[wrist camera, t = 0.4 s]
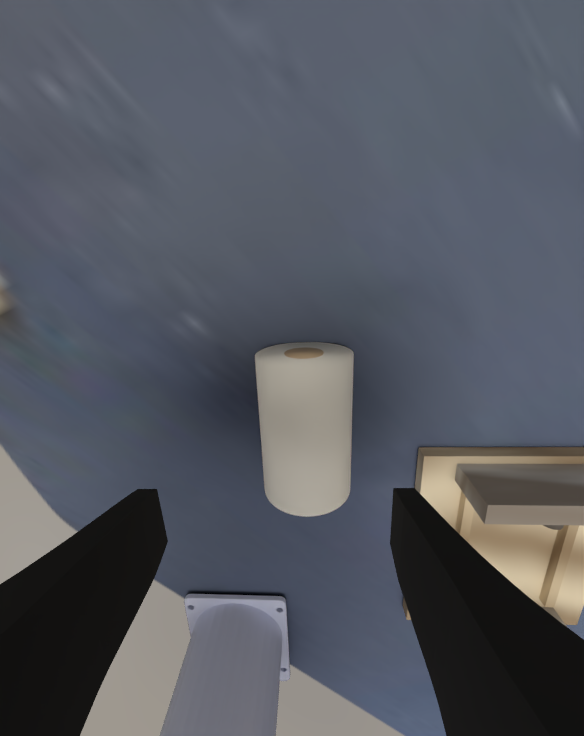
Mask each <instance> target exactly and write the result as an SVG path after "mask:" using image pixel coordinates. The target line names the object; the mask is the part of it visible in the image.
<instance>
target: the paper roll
mask: <svg viewBox="0 0 584 736" xmlns="http://www.w3.org/2000/svg"><path fill="white" fill-rule="evenodd" d="M353 363H354V353H353V351H352V350H351V349H349V348H347V347H344V346H341V345H337V344H331V343H323V342H296V343H285V344H279V345H274V346H270V347H267V348H264V349H262V350H260V351H258V352H257V353H256V354H255V366H256V380H257V393H258V407H259V420H260V434H261V447H262V460H263V474H264V487H265V494H266V496H267V498H268V500H269V501H270V502H271V503H272V504H273V505H274V506H275V507H276V508H278V509H279V510H281V511H283V512H286V513H288V514H292V515H296V516H319V515H323V514H327V513H329V512H332V511H334V510H336V509H337V508H339V507H340V506H341V505H342V504H343V503H344V502H345V501H346V500H347V498H348V496H349V494H350V479H351V441H352V402H353Z"/></svg>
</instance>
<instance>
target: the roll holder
mask: <svg viewBox="0 0 584 736" xmlns="http://www.w3.org/2000/svg"><path fill="white" fill-rule="evenodd" d="M415 489H416V490H417V491H418V492H419V493H420V494H421V495H422V496H423V497H424V498H425V499H426V500H427V501H428V502H429V503H430V505H431V506H432V507H433V508H434V509H435V510H436V511H437V512H438V513H439V514H440V515H441V516H442V517H443V518H444V519H445V520H446V521H447V522H448V523H449V524H450V525H451V526H452V527H453V528H454V529H455V530H456V531H457V532H458V533H459V534H460V535H461V536H462V537H463V538H464V539H465V540H466V541H467V542H468V543H469V544H470V545H471V546H472V547H473V548H474V549H475V550H476V551H477V552H478V553H479V554H480V555H482V556H483V557H484V558H485V559H486V560H487V561H488V562H489V563H490V564H491V565H492V566H494V567H495V568H496V569H497V570H498V571H499V572H500V573H501V574H503V575H504V576H505V577H506V578H507V579H508V580H509V581H510V582H512V583H513V584H514V585H515V586H516V587H517V588H519V589H520V590H521V591H522V592H523V593H525V594H526V595H527V596H528V597H529V598H531V599H532V600H533V601H534V602H536V603H537V604H538V605H539V606H541V607H542V608H543V609H544V610H546V611H547V612H548V613H550V614H551V615H552V616H553V617H555V618H556V619H557V620H558V621H560V622H561V623H562V624H563V625H565V626H566V625H577V623H578V620H579V617H580V614H581V611H582V608H583V606H584V447H419V450H418V460H417V470H416V480H415ZM403 608H404V612H405V616H406V619H407V620H411V617H410V614H409V611H408V608H407V605H406V602H405V599H403ZM566 627H567V626H566Z"/></svg>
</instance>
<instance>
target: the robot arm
mask: <svg viewBox="0 0 584 736" xmlns="http://www.w3.org/2000/svg"><path fill="white" fill-rule="evenodd" d="M167 542H168V540H167V536H166V531H165V526H164V521H163V516H162V511H161V507H160V502H159V497H158V492H157V489H137V490H136V491H134V492H133V493H131V494H130V495H128V496H127V497H125V498H124V499H123V500H121V501H120V502H118V503H117V504H116V505H114V506H113V507H111V508H110V509H109V510H107V511H106V512H105V513H103V514H102V515H101V516H99V517H98V518H96V519H95V520H94V521H92V522H91V523H90V524H88V525H87V526H85V527H84V528H83V529H81V530H80V531H78V532H77V533H76V534H74V535H73V536H72V537H70V538H69V539H67V540H66V541H65V542H63V543H62V544H60V545H59V546H57V547H56V548H54V549H53V550H51V551H50V552H49V553H47V554H46V555H44V556H43V557H41V558H40V559H38V560H37V561H35V562H34V563H32V564H31V565H29V566H28V567H26V568H25V569H23V570H22V571H20V572H19V573H17V574H16V575H14V576H13V577H11V578H10V579H8V580H6V581H5V582H3V583H2V584H0V736H80V734H81V731H82V729H83V727H84V724H85V721H86V719H87V717H88V714H89V712H90V710H91V707H92V705H93V702H94V700H95V697H96V695H97V693H98V691H99V688H100V686H101V684H102V682H103V680H104V678H105V675H106V673H107V671H108V669H109V667H110V665H111V663H112V661H113V659H114V657H115V655H116V653H117V651H118V649H119V647H120V645H121V643H122V641H123V639H124V637H125V635H126V633H127V631H128V629H129V627H130V625H131V624H132V621H133V620H134V617H135V616H136V614H137V612H138V610H139V608H140V606H141V604H142V602H143V599H144V598H145V596H146V594H147V592H148V590H149V588H150V586H151V583H152V581H153V579H154V577H155V575H156V572H157V570H158V567H159V564H160V562H161V559H162V556H163V553H164V551H165V548H166V545H167ZM390 545H391V549H392V554H393V559H394V563H395V568H396V572H397V576H398V581H399V584H400V587H401V590H402V593H403V596H404V599H405V602H406V605H407V608H408V611H409V614H410V617H411V620H412V623H413V626H414V629H415V632H416V635H417V638H418V641H419V644H420V647H421V650H422V653H423V656H424V659H425V662H426V665H427V668H428V671H429V674H430V677H431V681H432V684H433V687H434V691H435V694H436V697H437V701H438V704H439V708H440V712H441V716H442V720H443V724H444V728H445V731H446V735H447V736H584V640H583V639H582V638H581V637H579V636H578V635H577V634H575V633H574V632H573V631H571V630H570V629H569V628H567V627H566V626H565V625H563V624H562V623H561V622H560V621H558V620H557V619H556V618H555V617H553V616H552V615H551V614H550V613H548V612H547V611H546V610H544V609H543V608H542V607H541V606H539V605H538V604H537V603H536V602H534V601H533V600H532V599H531V598H529V597H528V596H527V595H526V594H525V593H523V592H522V591H521V590H520V589H519V588H517V587H516V586H515V585H514V584H513V583H512V582H510V581H509V580H508V579H507V578H506V577H505V576H504V575H503V574H501V573H500V572H499V571H498V570H497V569H496V568H495V567H494V566H492V565H491V564H490V563H489V562H488V561H487V560H486V559H485V558H484V557H483V556H482V555H480V554H479V553H478V552H477V551H476V550H475V549H474V548H473V547H472V546H471V545H470V544H469V543H468V542H467V541H466V540H465V539H464V538H463V537H462V536H461V535H460V534H459V533H458V532H457V531H456V530H455V529H454V528H453V527H452V526H451V525H450V524H449V523H448V522H447V521H446V520H445V519H444V518H443V517H442V516H441V515H440V514H439V513H438V512H437V511H436V510H435V509H434V508H433V507H432V506H431V505H430V503H429V502H428V501H427V500H426V499H425V498H424V497H423V496H422V495H421V494H420V493H419V492H418V491H417V490H416V489H415V488H394V489H393V505H392V521H391V538H390ZM184 604H185V609H186V614H187V619H188V625H189V630H190V635H191V639H190V643H189V646H188V649H187V652H186V655H185V658H184V661H183V664H182V667H181V670H180V674H179V677H178V680H177V683H176V686H175V689H174V692H173V695H172V699H171V702H170V705H169V708H168V711H167V715H166V717H165V721H164V724H163V727H162V730H161V733H160V736H276V723H277V709H278V695H279V681H287V680H289V679H290V661H289V643H288V625H287V607H286V599H285V598H284V597H282V596H258V595H222V594H188V595H186V597H185V600H184Z"/></svg>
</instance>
